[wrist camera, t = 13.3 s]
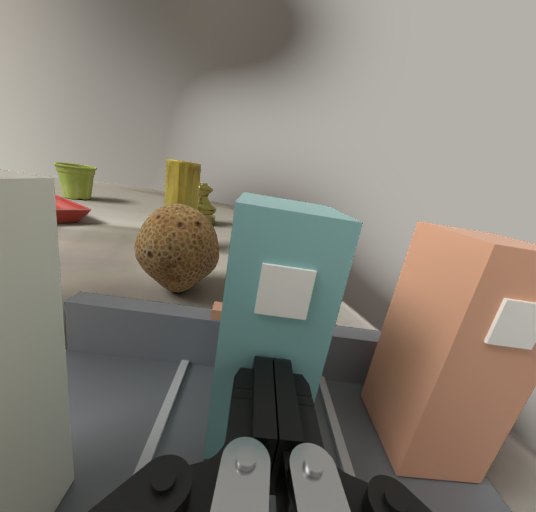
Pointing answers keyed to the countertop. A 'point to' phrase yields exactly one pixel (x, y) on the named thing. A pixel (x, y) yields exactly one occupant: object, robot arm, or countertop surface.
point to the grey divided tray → (204, 400)
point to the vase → (182, 183)
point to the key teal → (279, 293)
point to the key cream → (32, 350)
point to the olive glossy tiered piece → (206, 202)
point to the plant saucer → (69, 210)
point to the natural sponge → (177, 247)
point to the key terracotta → (454, 353)
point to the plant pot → (75, 180)
